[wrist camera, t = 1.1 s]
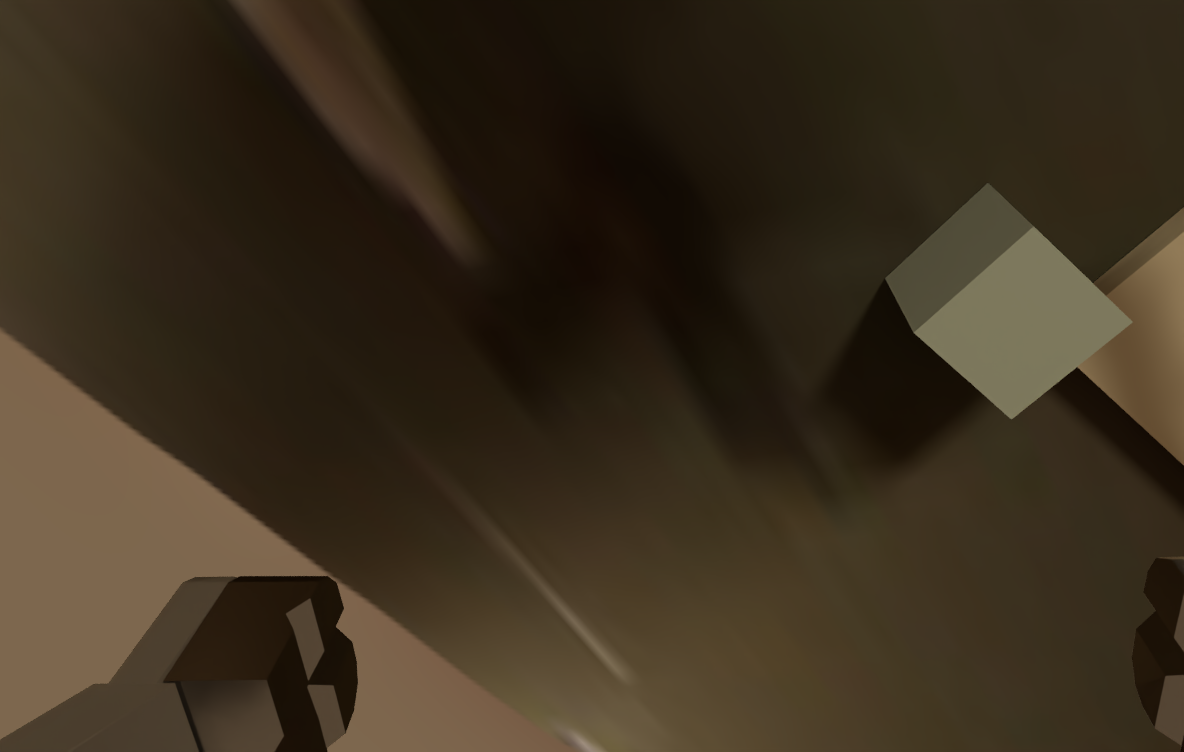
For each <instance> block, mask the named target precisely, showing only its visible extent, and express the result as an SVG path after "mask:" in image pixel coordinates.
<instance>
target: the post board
mask: <svg viewBox="0 0 1184 752" xmlns="http://www.w3.org/2000/svg"><path fill="white" fill-rule="evenodd" d="M1093 284H1094V285H1095V286H1096V287H1097V288H1098V289H1099V290H1100V291H1101V292H1102V293H1103V294H1104V295H1105V296H1106V297H1108V298H1109V299H1110V300H1111V301H1112V302H1113V303H1114V304H1115V305H1116V306H1117V307H1118V308H1119V309H1120V310H1121V311H1122V312H1123V313H1124V314H1125V315H1126V316H1127V317H1128V318H1129V319H1130V320H1131V321H1132V322H1133V323H1131V324H1130V325H1129V326H1128V327H1126V328H1125V329H1124V330H1123V331H1121V332H1120V333H1119V334H1118V335H1116V336H1115V337H1114V338H1113V339H1111V340H1110V341H1109V342H1108V343H1106V344H1105V345H1104V346H1103V347H1101V348H1100V349H1099V350H1098V351H1096V352H1095V353H1094V354H1093V355H1091V356H1090V357H1089V358H1088V359H1086V360H1085V361H1084V362H1083V363H1081V364H1080V365H1079V366H1078V368H1079V369H1080V370H1081V371H1082V372H1083V373H1084V374H1085V375H1087V376H1088V377H1089V378H1090V379H1091V380H1092V381H1093V382H1094V383H1095V384H1096V385H1097V386H1098V387H1100V388H1101V389H1102V390H1103V391H1104V392H1105V393H1106V394H1107V395H1108V396H1109V397H1110V398H1111V399H1112V400H1114V401H1115V402H1116V403H1117V404H1118V405H1119V406H1120V407H1121V408H1122V409H1123V410H1124V411H1125V412H1127V413H1128V414H1129V415H1130V416H1131V417H1132V418H1133V419H1134V420H1135V421H1136V422H1137V423H1138V424H1140V425H1141V426H1142V427H1143V428H1144V429H1145V430H1146V431H1147V432H1148V433H1149V434H1150V435H1151V436H1152V437H1154V438H1155V439H1156V440H1157V441H1158V442H1159V443H1160V444H1161V445H1162V446H1163V447H1164V448H1165V449H1167V450H1168V451H1169V452H1170V453H1171V454H1172V455H1173V456H1174V457H1175V458H1176V459H1177V460H1178V461H1180V462H1181V463H1182V464H1183V465H1184V207H1183V208H1182V209H1181V210H1180V211H1179V212H1177V213H1176V214H1175V215H1174V216H1173V217H1171V218H1170V219H1169V220H1168V221H1167V222H1165V223H1164V224H1163V225H1162V226H1161V227H1159V228H1158V229H1157V230H1156V231H1155V232H1153V233H1152V234H1151V235H1150V236H1149V237H1147V238H1146V239H1145V240H1144V241H1143V242H1141V243H1140V244H1139V245H1138V246H1137V247H1135V248H1134V249H1133V250H1132V251H1131V252H1130V253H1128V254H1127V255H1126V256H1125V257H1124V258H1122V259H1121V260H1120V261H1119V262H1118V263H1116V264H1115V265H1114V266H1113V267H1112V268H1110V269H1109V270H1108V271H1107V272H1106V273H1104V274H1103V275H1102V276H1101V277H1100V278H1098V279H1097V280H1096V281H1095V282H1094V283H1093Z"/></svg>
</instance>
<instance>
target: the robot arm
mask: <svg viewBox="0 0 1184 752" xmlns="http://www.w3.org/2000/svg"><path fill="white" fill-rule="evenodd" d="M1143 593H1144V594H1145V596H1146V597H1147V599H1148V600H1149V601H1150V603H1151V604H1152V606H1153V607H1154V609H1155V610H1156V611H1155V612H1154V613H1153V614H1152V615H1151V616H1150V617H1149V618H1147V619H1146V620H1145V621H1144V622H1143V623H1142V624H1141V625H1140V626H1139V627H1138V628H1137V629H1136V632H1135V639H1134V645H1133V652H1132V664H1133V672H1134V680H1135V686H1136V689H1137V692H1138V695H1139V698H1140V701H1141V704H1142V706H1143V708H1144V710H1145V712H1146V714H1147V715H1148V717H1149V719H1150V721H1151V722H1152V724H1153V726H1154V728H1155V729H1157V730H1158V731H1160V732H1162V733H1163V734H1165V735H1166V736H1168V737H1169V738H1171V739H1172V740H1174V741H1175V742H1177V743H1178V744H1180V745H1181V750H1180V752H1184V557H1157V558H1155V560H1154V562H1153V563H1152V565H1151V566H1150V568H1149V570H1148V572H1147V577H1146V582H1145V586H1144V591H1143ZM343 609H344V607H343V603H342V600H341V597H340V593H339V589H338V586H337V583H336V582H335V581H333V580H332V579H331V578H329V577H328V576H240V577H238V578H237V577H195V578H193V579H190V580H188V581H185V582H183V583H182V584H181V586H180V587H179V589H178V590H177V591H176V593H175V594H174V595H173V597H172V598H171V599H170V601H169V602H168V603H167V605H166V606H165V607H164V609H163V610H162V611H161V613H160V614H159V616H158V617H157V618H156V620H155V621H154V622H153V624H152V625H151V627H150V628H149V629H148V630H147V632H146V633H145V635H144V636H143V637H142V639H141V640H140V641H139V643H138V644H137V645H136V647H135V648H134V649H133V651H132V652H131V654H130V655H129V657H128V658H127V659H126V660H125V662H124V663H123V665H122V666H121V667H120V669H119V670H118V671H117V673H116V674H115V675H114V677H113V678H112V680H111V681H110V682H109V683H108V684H93V685H91V686H90V687H88V688H86V689H85V690H83V691H81V692H80V693H78V694H76V695H75V696H73V697H71V698H69V699H68V700H66V701H65V702H63V703H61V704H59V705H58V706H56V707H55V708H53V709H51V710H49V711H48V712H46V713H44V714H43V715H41V716H39V717H38V718H36V719H34V720H33V721H31V722H30V723H27V724H26V725H24V726H22V727H21V728H19V729H17V730H16V731H14V732H13V733H11V734H9V735H7V736H6V737H4V738H2V739H1V740H0V752H327V747H329V746H330V745H331V744H332V743H334V742H335V741H336V740H337V739H339V738H340V737H341V736H342V735H344V734H345V733H346V730H347V728H348V725H349V722H350V720H351V717H352V714H353V712H354V706H355V699H356V692H357V684H358V678H357V661H356V657H355V652H354V648H353V643H352V641H351V640H349V639H348V638H347V637H346V636H345V635H344V634H343V633H342V632H340V630H339V629H337V628H336V624H337V622H338V620H339V618H340V616H341V614H342V611H343Z"/></svg>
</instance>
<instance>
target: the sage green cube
mask: <svg viewBox="0 0 1184 752" xmlns="http://www.w3.org/2000/svg"><path fill="white" fill-rule="evenodd" d="M885 279H886V281H887V283H888V285H889V287H890V289H891V291H892V293H893V295H894V296H895V298H896V300H897V302H898V304H899V306H900V308H901V310H902V312H903V314H904V315H905V317H906V319H907V321H908V323H909V325H910V327H911V329H912V331H913V333H914V334H916V335H917V336H918V337H919V338H920V339H921V340H922V341H923V342H925V343H926V344H927V345H928V346H929V347H930V348H931V349H933V350H934V351H935V352H936V353H937V354H938V355H939V356H940V357H942V358H943V359H944V360H945V361H946V362H947V363H948V364H949V365H951V366H952V367H953V368H954V369H955V370H956V371H957V372H959V373H960V374H961V375H962V376H963V377H964V378H965V379H966V380H968V381H969V382H970V383H971V384H972V385H973V386H974V387H975V388H977V389H978V390H979V391H980V392H981V393H982V394H983V395H985V396H986V397H987V398H988V399H989V400H990V401H991V402H992V403H994V404H995V405H996V406H997V407H998V408H999V409H1000V410H1001V411H1003V412H1004V413H1005V414H1006V415H1007V416H1008V417H1009V418H1011V419H1013V418H1014V417H1015V416H1016V415H1018V414H1019V413H1020V412H1021V411H1023V410H1024V409H1025V408H1026V407H1028V406H1029V405H1030V404H1031V403H1033V402H1034V401H1035V400H1036V399H1038V398H1039V397H1040V396H1041V395H1043V394H1044V393H1045V392H1046V391H1048V390H1049V389H1050V388H1051V387H1053V386H1054V385H1055V384H1056V383H1058V382H1059V381H1060V380H1061V379H1063V378H1064V377H1065V376H1066V375H1068V374H1069V373H1070V372H1071V371H1073V370H1074V369H1075V368H1076V367H1078V366H1079V365H1080V364H1081V363H1083V362H1084V361H1085V360H1086V359H1088V358H1089V357H1090V356H1091V355H1093V354H1094V353H1095V352H1096V351H1098V350H1099V349H1100V348H1101V347H1103V346H1104V345H1105V344H1106V343H1108V342H1109V341H1110V340H1111V339H1113V338H1114V337H1115V336H1116V335H1118V334H1119V333H1120V332H1121V331H1123V330H1124V329H1125V328H1126V327H1128V326H1129V325H1130V324H1131V323H1133V322H1132V321H1131V320H1130V319H1129V318H1128V317H1127V316H1126V315H1125V314H1124V313H1123V312H1122V311H1121V310H1120V309H1119V308H1118V307H1117V306H1116V305H1115V304H1114V303H1113V302H1112V301H1111V300H1110V299H1109V298H1108V297H1106V296H1105V295H1104V294H1103V293H1102V292H1101V291H1100V290H1099V289H1098V288H1097V287H1096V286H1095V285H1094V284H1093V283H1092V282H1091V281H1090V280H1089V279H1088V278H1087V277H1086V276H1085V275H1084V274H1083V273H1082V272H1080V271H1079V270H1078V269H1077V268H1076V267H1075V266H1074V265H1073V264H1072V263H1071V262H1070V261H1069V260H1068V259H1067V258H1066V257H1065V256H1064V255H1063V254H1062V253H1061V252H1060V251H1059V250H1058V249H1057V248H1055V247H1054V246H1053V245H1052V244H1051V243H1050V242H1049V241H1048V240H1047V239H1046V238H1045V237H1044V236H1043V235H1042V234H1041V233H1040V232H1039V231H1038V230H1037V229H1036V228H1035V227H1034V226H1033V225H1032V224H1031V223H1029V222H1028V221H1027V220H1026V219H1025V218H1024V217H1023V216H1022V215H1021V214H1020V213H1019V212H1018V211H1017V210H1016V209H1015V208H1014V207H1013V206H1012V205H1011V204H1010V203H1009V202H1007V201H1006V200H1005V199H1004V198H1003V197H1002V196H1001V195H1000V194H999V193H998V192H997V191H996V190H995V189H994V188H993V187H992V186H991V185H990V184H989V183H987V184H986V185H985V186H984V187H983V188H982V189H981V190H980V191H978V192H977V193H976V194H975V195H974V196H973V197H972V198H971V199H970V200H969V201H968V202H967V203H966V204H964V205H963V206H962V207H961V208H960V209H959V210H958V211H957V212H956V213H955V214H954V215H953V216H952V217H951V218H949V219H948V220H947V221H946V222H945V223H944V224H943V225H942V226H941V227H940V228H939V229H938V230H937V231H935V232H934V233H933V234H932V235H931V236H930V237H929V238H928V239H927V240H926V241H925V242H924V243H923V244H921V245H920V246H919V247H918V248H917V249H916V250H915V251H914V252H913V253H912V254H911V255H910V256H909V257H907V258H906V259H905V260H904V261H903V262H902V263H901V264H900V265H899V266H898V267H897V268H896V269H895V270H894V271H892V272H891V273H890V274H889V275H888V276H887V277H886V278H885Z"/></svg>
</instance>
